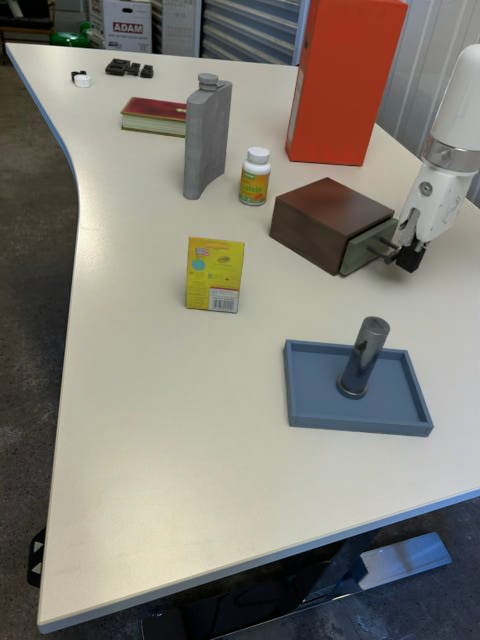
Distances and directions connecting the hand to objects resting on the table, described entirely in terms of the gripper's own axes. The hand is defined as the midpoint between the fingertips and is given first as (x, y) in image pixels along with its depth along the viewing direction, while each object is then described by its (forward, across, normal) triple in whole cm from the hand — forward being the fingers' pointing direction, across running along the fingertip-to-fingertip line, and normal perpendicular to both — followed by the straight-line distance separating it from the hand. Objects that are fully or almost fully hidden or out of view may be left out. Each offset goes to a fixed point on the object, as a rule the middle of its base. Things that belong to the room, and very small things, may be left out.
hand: (405, 267), depth 75 cm
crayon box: (+4, -27, +15) cm, 31 cm away
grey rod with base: (+3, -25, -8) cm, 26 cm away
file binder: (+4, +30, +39) cm, 49 cm away
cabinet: (+4, 0, +15) cm, 16 cm away
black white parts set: (+4, +19, +108) cm, 110 cm away
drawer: (+3, 0, +11) cm, 11 cm away
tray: (+4, -25, -8) cm, 26 cm away
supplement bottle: (+4, 0, +34) cm, 34 cm away
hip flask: (+4, -3, +44) cm, 44 cm away
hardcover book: (+4, +10, +71) cm, 72 cm away
